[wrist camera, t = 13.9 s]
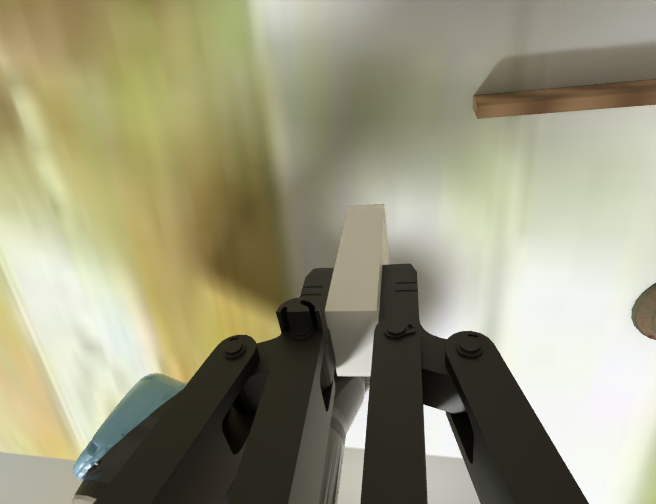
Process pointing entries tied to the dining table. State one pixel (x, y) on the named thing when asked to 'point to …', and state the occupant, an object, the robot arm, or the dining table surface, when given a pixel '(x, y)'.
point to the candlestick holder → (646, 313)
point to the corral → (566, 99)
